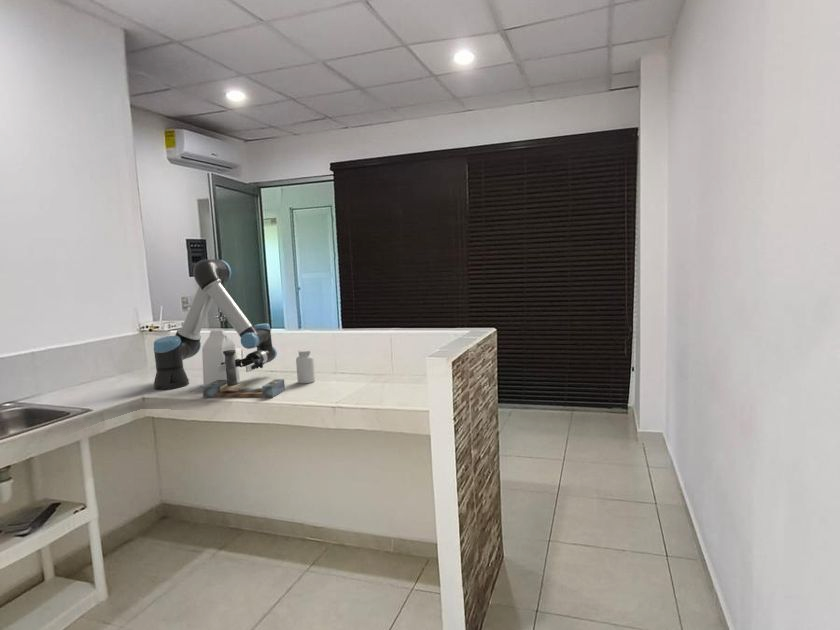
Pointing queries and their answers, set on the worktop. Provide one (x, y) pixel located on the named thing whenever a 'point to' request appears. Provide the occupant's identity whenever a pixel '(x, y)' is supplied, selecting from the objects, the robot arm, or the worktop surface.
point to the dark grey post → (231, 373)
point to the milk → (216, 356)
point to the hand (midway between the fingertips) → (232, 369)
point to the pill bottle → (305, 367)
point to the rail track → (244, 390)
